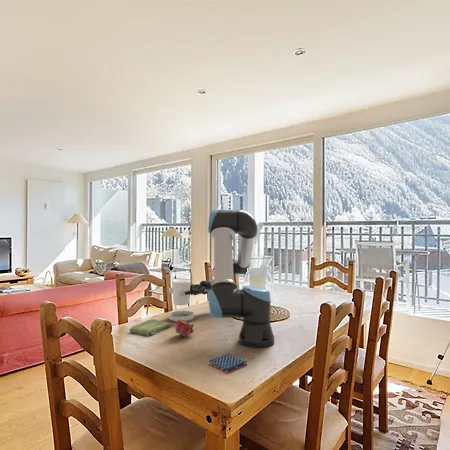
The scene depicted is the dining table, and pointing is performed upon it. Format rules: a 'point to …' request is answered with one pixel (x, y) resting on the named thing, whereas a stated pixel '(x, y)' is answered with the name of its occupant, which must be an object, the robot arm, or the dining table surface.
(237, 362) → the woven mat
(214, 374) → the dining table surface
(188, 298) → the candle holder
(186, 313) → the grey round dish
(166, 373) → the dining table surface
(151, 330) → the washcloth
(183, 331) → the flower
